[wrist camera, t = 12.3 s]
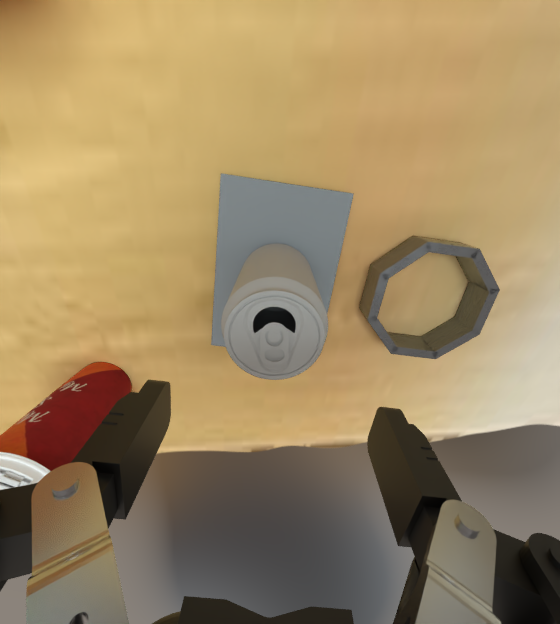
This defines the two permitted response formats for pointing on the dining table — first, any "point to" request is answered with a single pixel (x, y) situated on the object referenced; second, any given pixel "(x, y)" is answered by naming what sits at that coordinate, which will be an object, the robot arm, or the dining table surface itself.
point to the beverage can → (275, 314)
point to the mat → (276, 232)
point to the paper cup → (60, 424)
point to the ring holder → (451, 332)
